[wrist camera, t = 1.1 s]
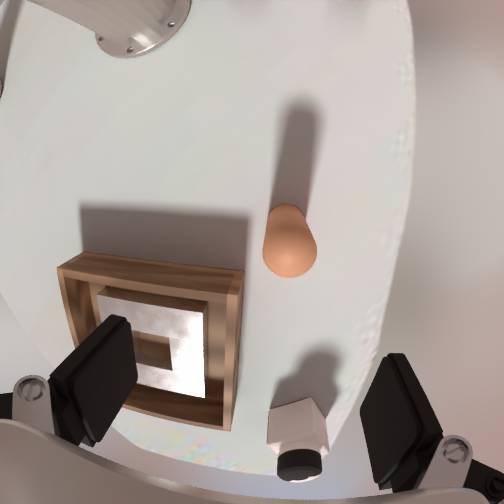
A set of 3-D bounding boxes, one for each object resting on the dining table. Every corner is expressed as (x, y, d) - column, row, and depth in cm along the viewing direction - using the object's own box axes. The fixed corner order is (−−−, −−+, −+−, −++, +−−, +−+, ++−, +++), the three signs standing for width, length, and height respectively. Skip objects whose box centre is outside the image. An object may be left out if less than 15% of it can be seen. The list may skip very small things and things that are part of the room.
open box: (83, 251, 34) (56, 267, 28) (244, 271, 33) (237, 295, 27) (108, 374, 41) (92, 397, 35) (235, 402, 40) (230, 431, 34)
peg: (269, 202, 30) (264, 223, 20) (306, 206, 30) (320, 228, 20) (265, 239, 31) (260, 275, 22) (302, 242, 31) (312, 280, 21)
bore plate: (105, 286, 34) (96, 294, 32) (207, 302, 33) (202, 312, 31) (121, 366, 38) (114, 376, 36) (208, 385, 38) (204, 397, 35)
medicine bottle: (268, 408, 40) (263, 472, 28) (311, 395, 38) (316, 461, 27) (286, 431, 41) (285, 489, 30) (326, 419, 40) (332, 479, 28)
